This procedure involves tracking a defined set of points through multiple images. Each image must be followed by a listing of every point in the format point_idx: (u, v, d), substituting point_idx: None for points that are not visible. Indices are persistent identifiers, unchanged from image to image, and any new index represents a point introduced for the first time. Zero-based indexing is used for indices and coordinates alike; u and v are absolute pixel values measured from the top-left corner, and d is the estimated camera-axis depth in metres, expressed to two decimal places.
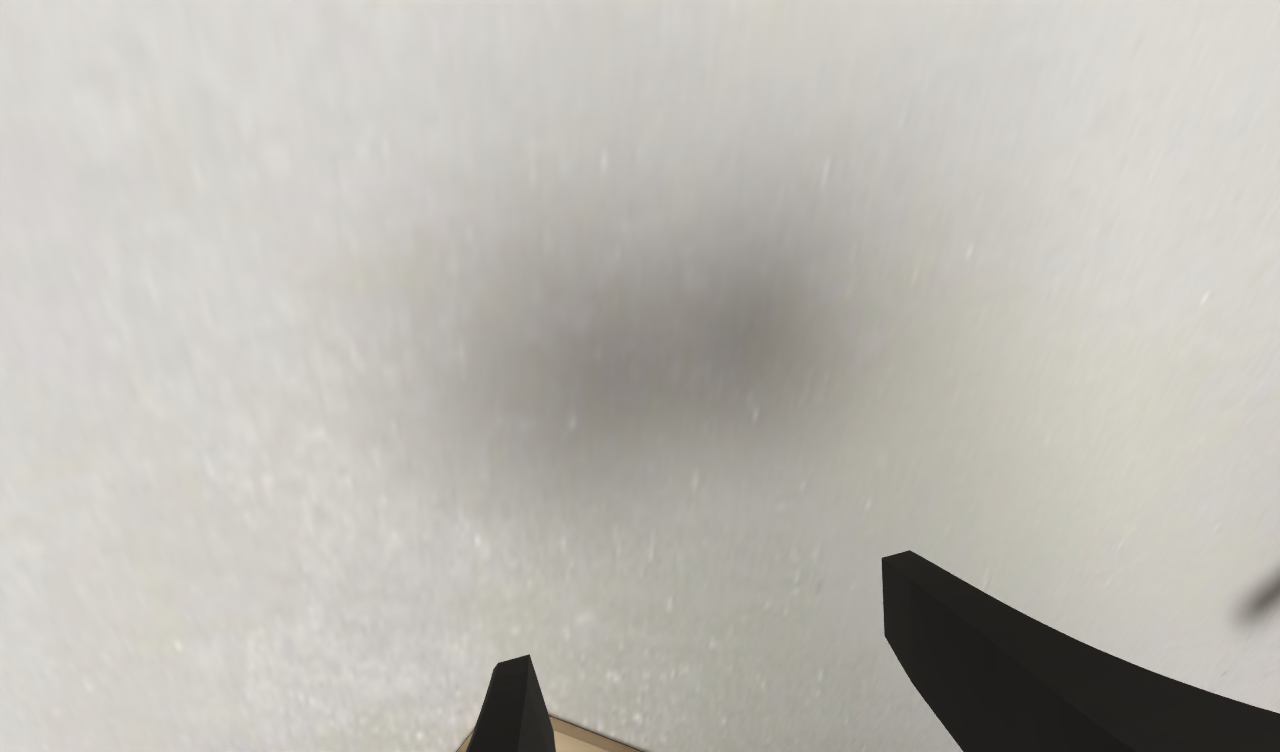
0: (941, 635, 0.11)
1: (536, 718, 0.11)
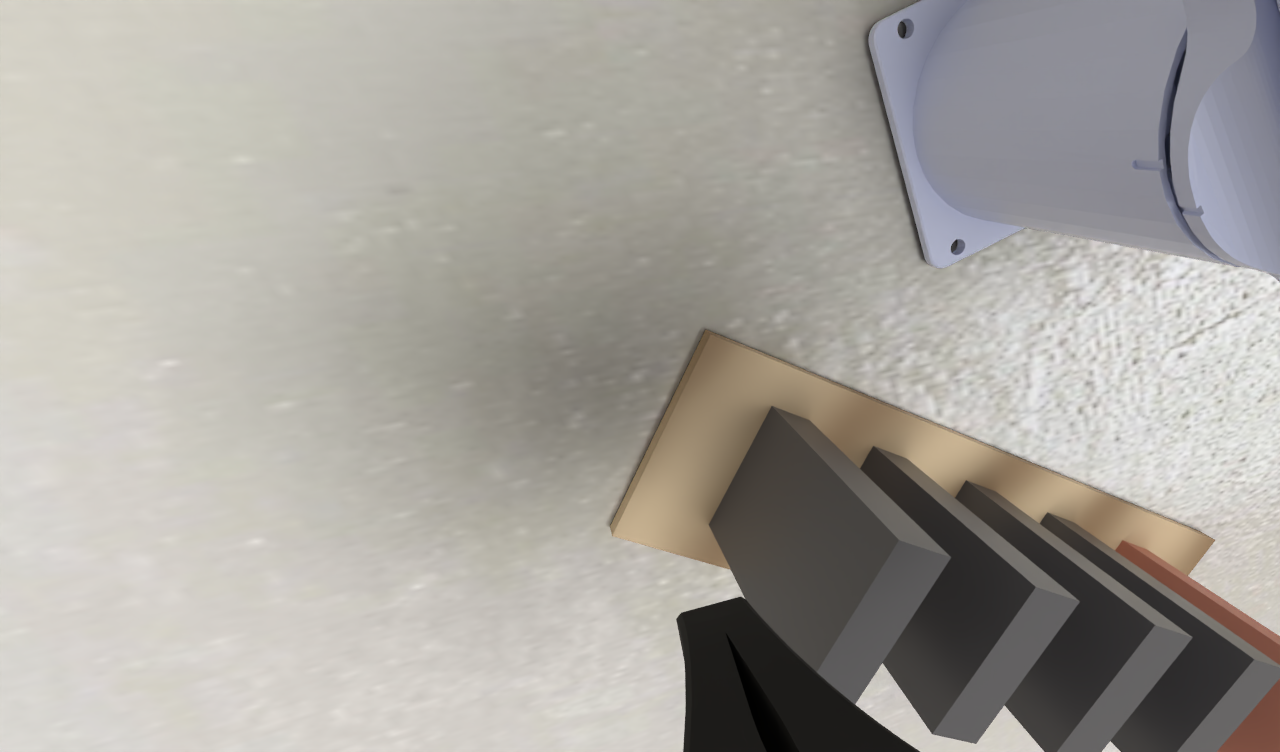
0: (748, 691, 0.11)
1: None
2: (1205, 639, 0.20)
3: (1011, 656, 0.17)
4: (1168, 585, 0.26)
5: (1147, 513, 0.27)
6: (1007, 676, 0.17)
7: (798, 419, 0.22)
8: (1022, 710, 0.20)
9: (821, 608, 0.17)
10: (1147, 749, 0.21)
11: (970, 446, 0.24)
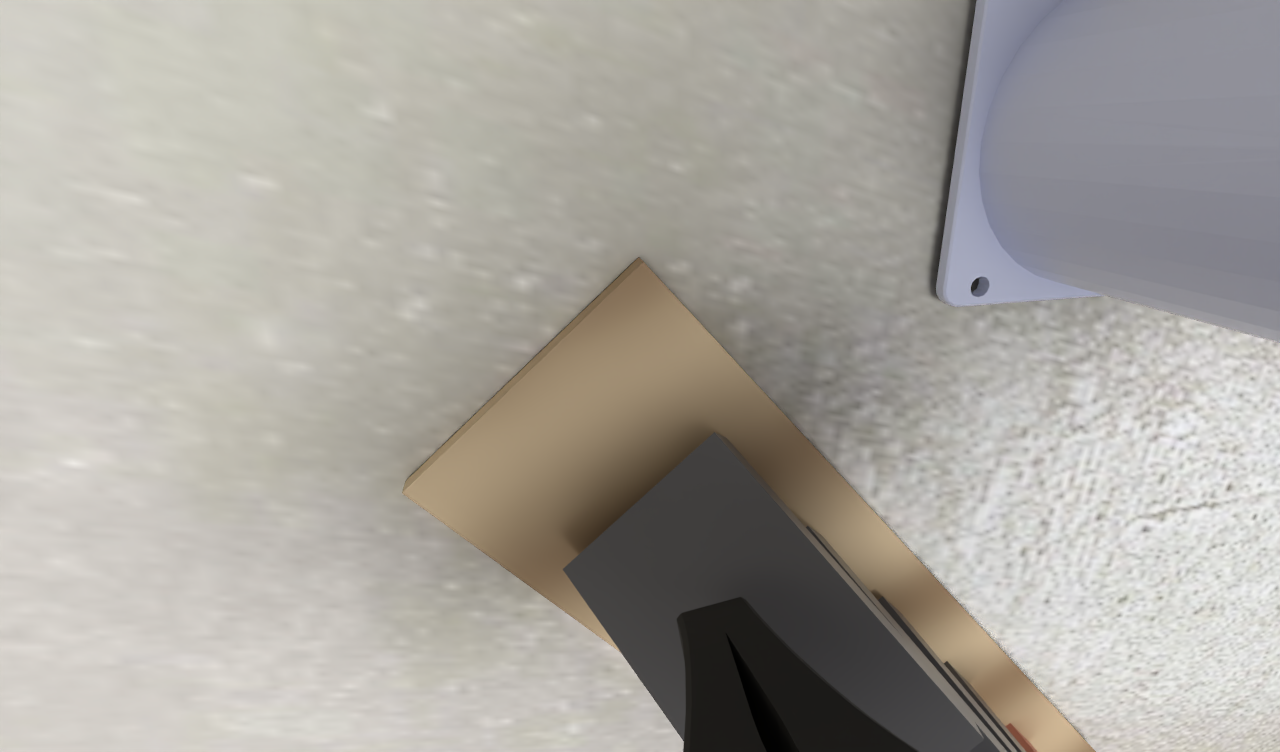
0: (747, 691, 0.11)
1: None
2: None
3: None
4: None
5: (1046, 700, 0.23)
6: None
7: (734, 450, 0.16)
8: None
9: None
10: None
11: (896, 547, 0.19)
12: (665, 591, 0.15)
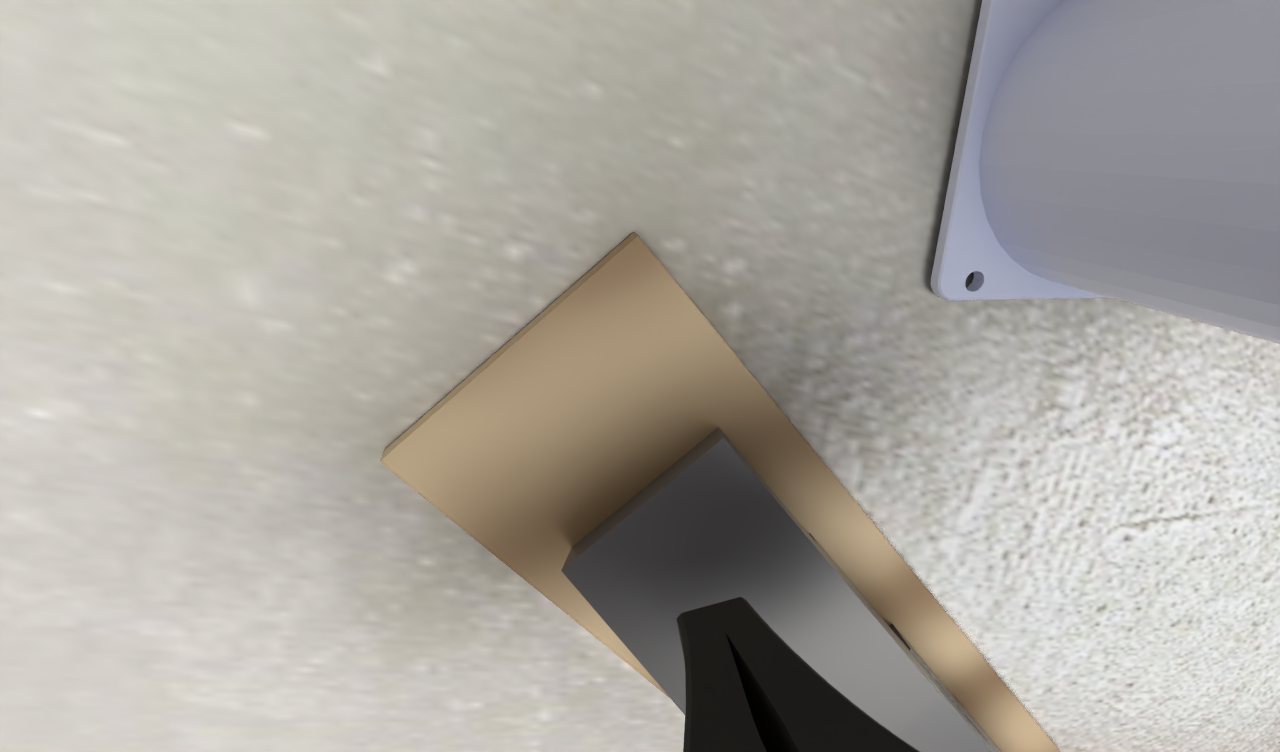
0: (748, 691, 0.11)
1: None
2: None
3: None
4: None
5: (1022, 707, 0.23)
6: None
7: (734, 447, 0.16)
8: None
9: None
10: None
11: (879, 542, 0.19)
12: (670, 589, 0.15)
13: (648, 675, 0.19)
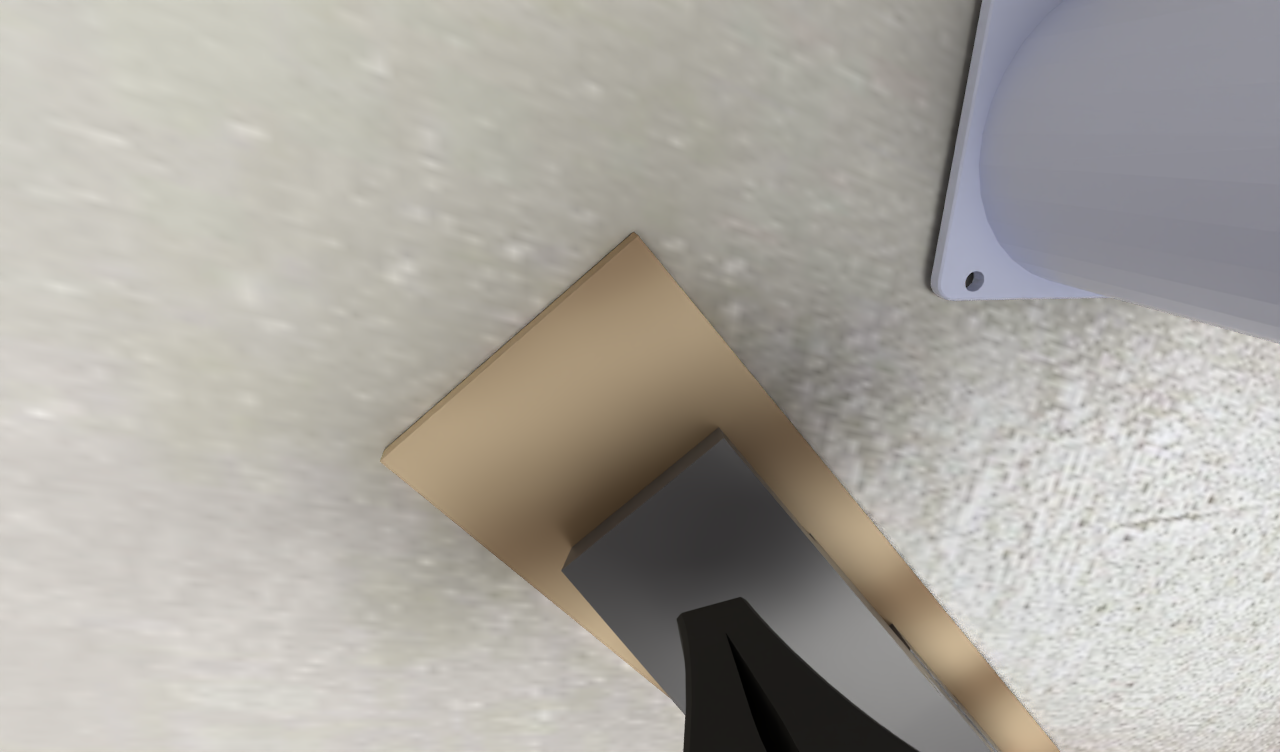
0: (748, 691, 0.11)
1: None
2: None
3: None
4: None
5: (1022, 707, 0.23)
6: None
7: (734, 447, 0.16)
8: None
9: None
10: None
11: (879, 542, 0.19)
12: (670, 589, 0.15)
13: (648, 675, 0.19)
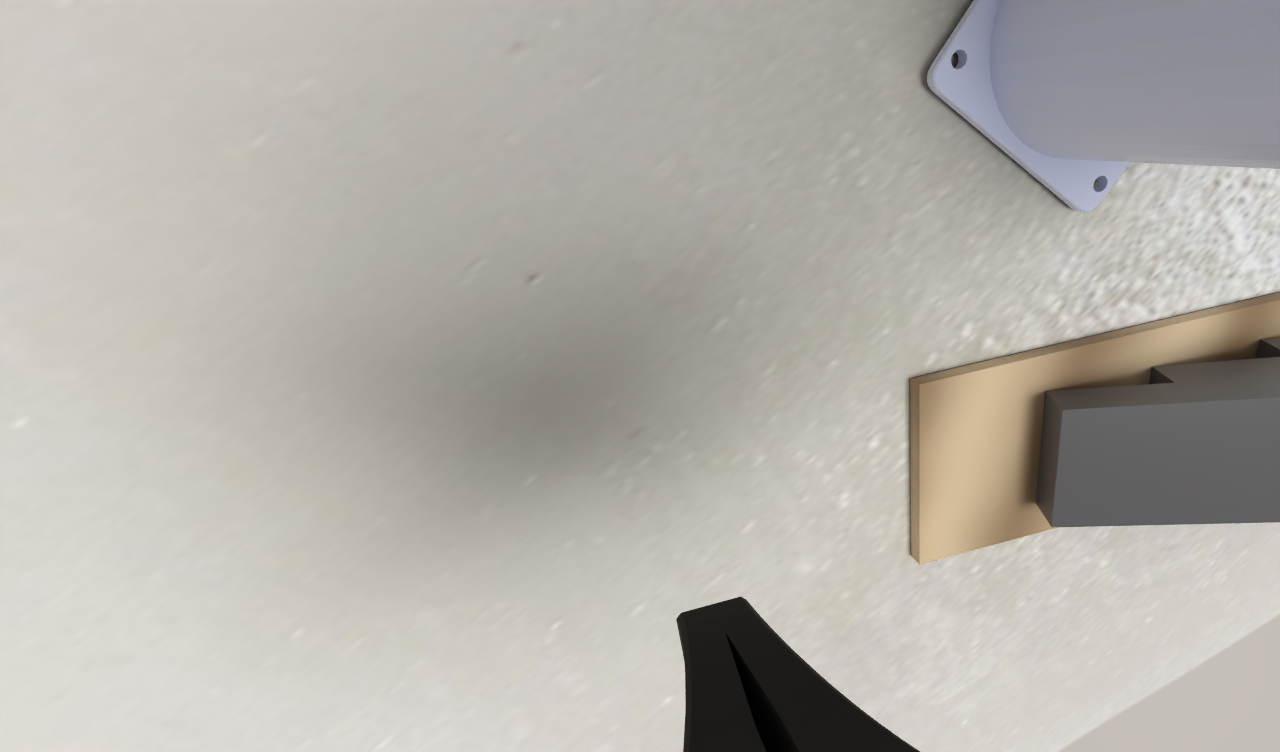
0: (748, 691, 0.11)
1: None
2: None
3: None
4: None
5: None
6: None
7: (1068, 398, 0.23)
8: None
9: None
10: None
11: (1200, 323, 0.24)
12: (1116, 486, 0.24)
13: None
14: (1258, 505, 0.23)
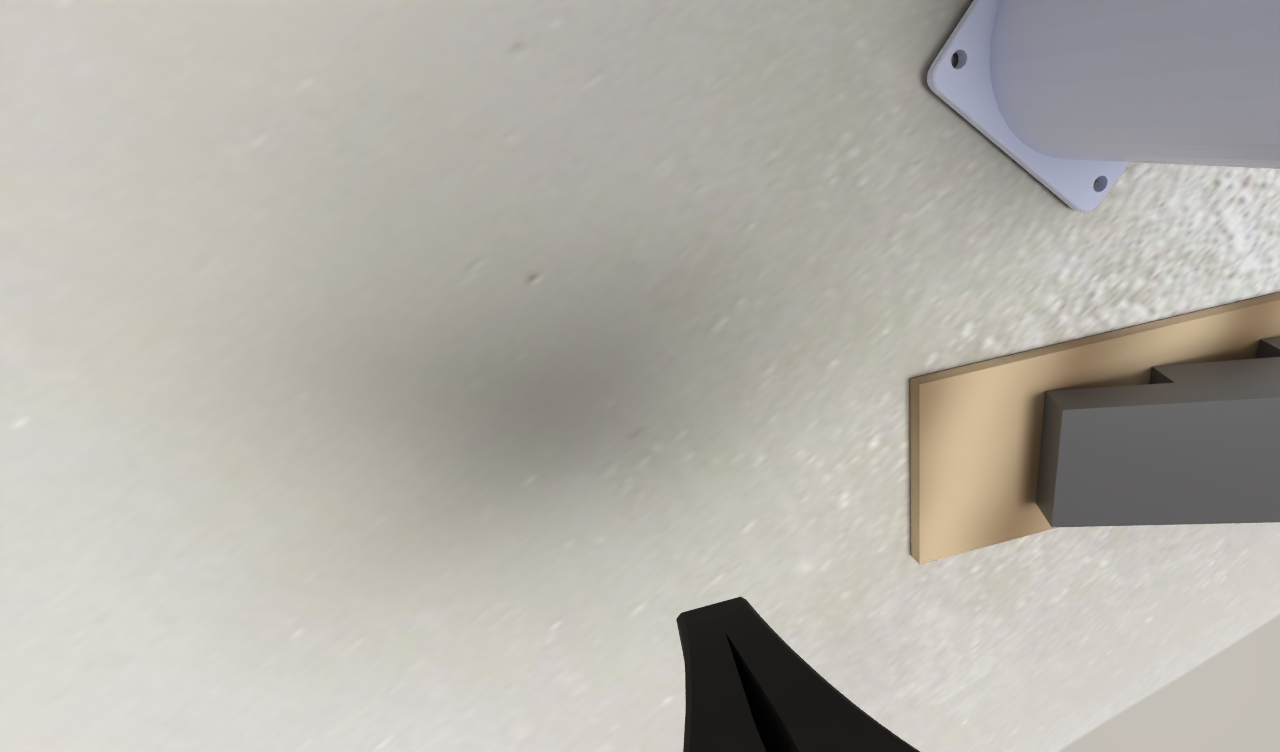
0: (748, 691, 0.11)
1: None
2: None
3: None
4: None
5: None
6: None
7: (1068, 398, 0.23)
8: None
9: None
10: None
11: (1200, 323, 0.24)
12: (1116, 486, 0.24)
13: None
14: (1258, 505, 0.23)
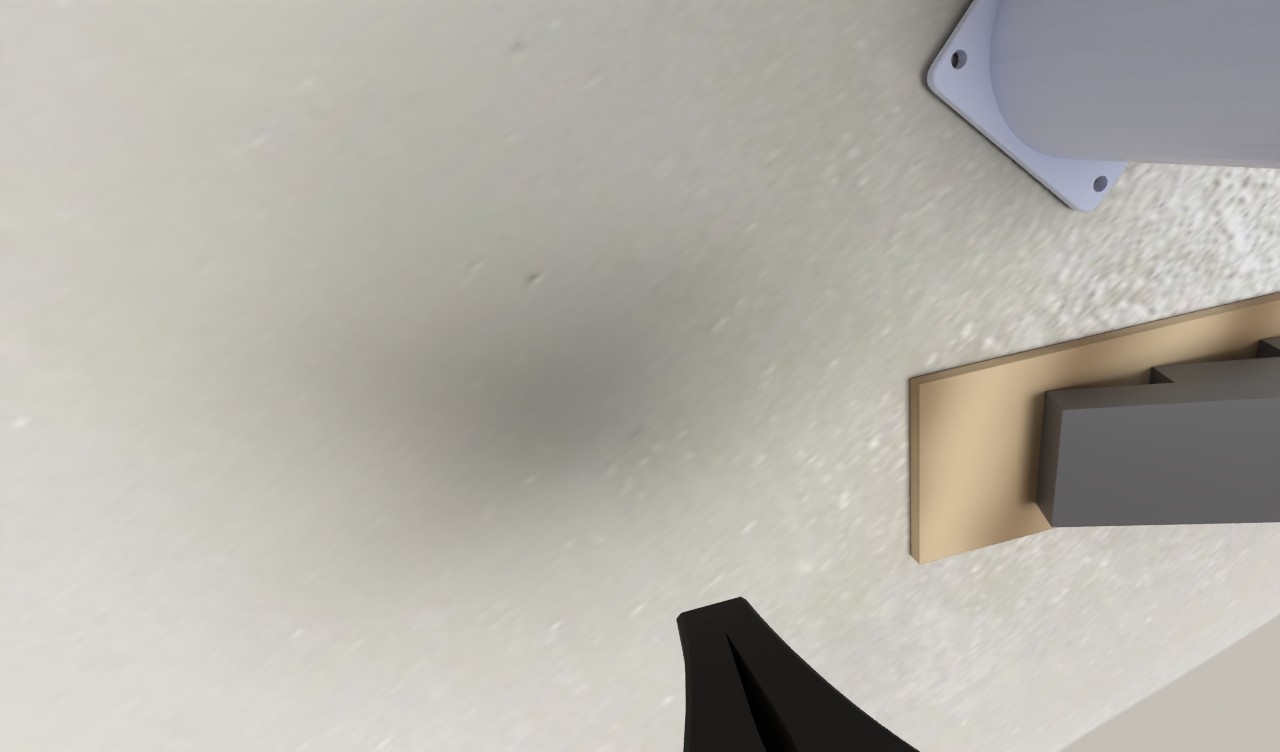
0: (748, 691, 0.11)
1: None
2: None
3: None
4: None
5: None
6: None
7: (1068, 398, 0.23)
8: None
9: None
10: None
11: (1200, 323, 0.24)
12: (1116, 486, 0.24)
13: None
14: (1258, 505, 0.23)
